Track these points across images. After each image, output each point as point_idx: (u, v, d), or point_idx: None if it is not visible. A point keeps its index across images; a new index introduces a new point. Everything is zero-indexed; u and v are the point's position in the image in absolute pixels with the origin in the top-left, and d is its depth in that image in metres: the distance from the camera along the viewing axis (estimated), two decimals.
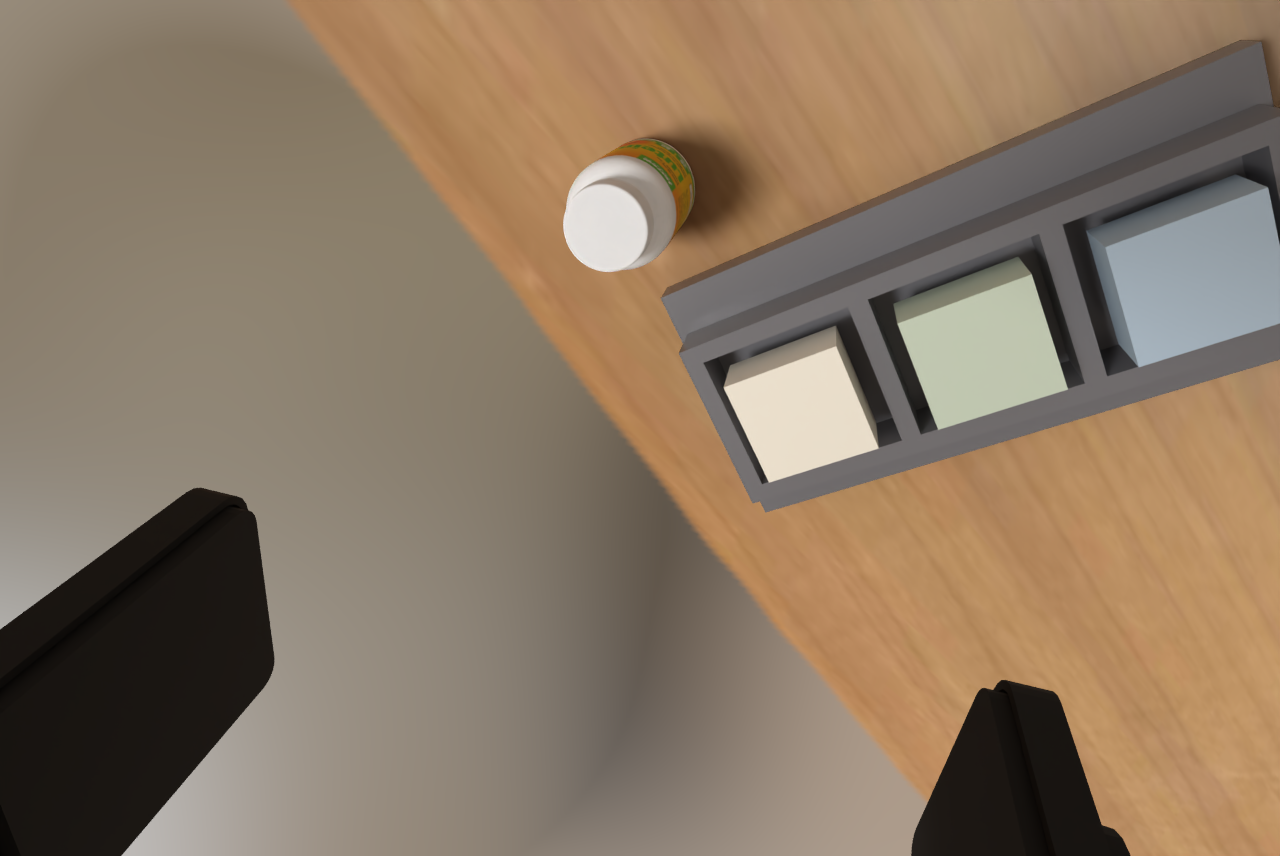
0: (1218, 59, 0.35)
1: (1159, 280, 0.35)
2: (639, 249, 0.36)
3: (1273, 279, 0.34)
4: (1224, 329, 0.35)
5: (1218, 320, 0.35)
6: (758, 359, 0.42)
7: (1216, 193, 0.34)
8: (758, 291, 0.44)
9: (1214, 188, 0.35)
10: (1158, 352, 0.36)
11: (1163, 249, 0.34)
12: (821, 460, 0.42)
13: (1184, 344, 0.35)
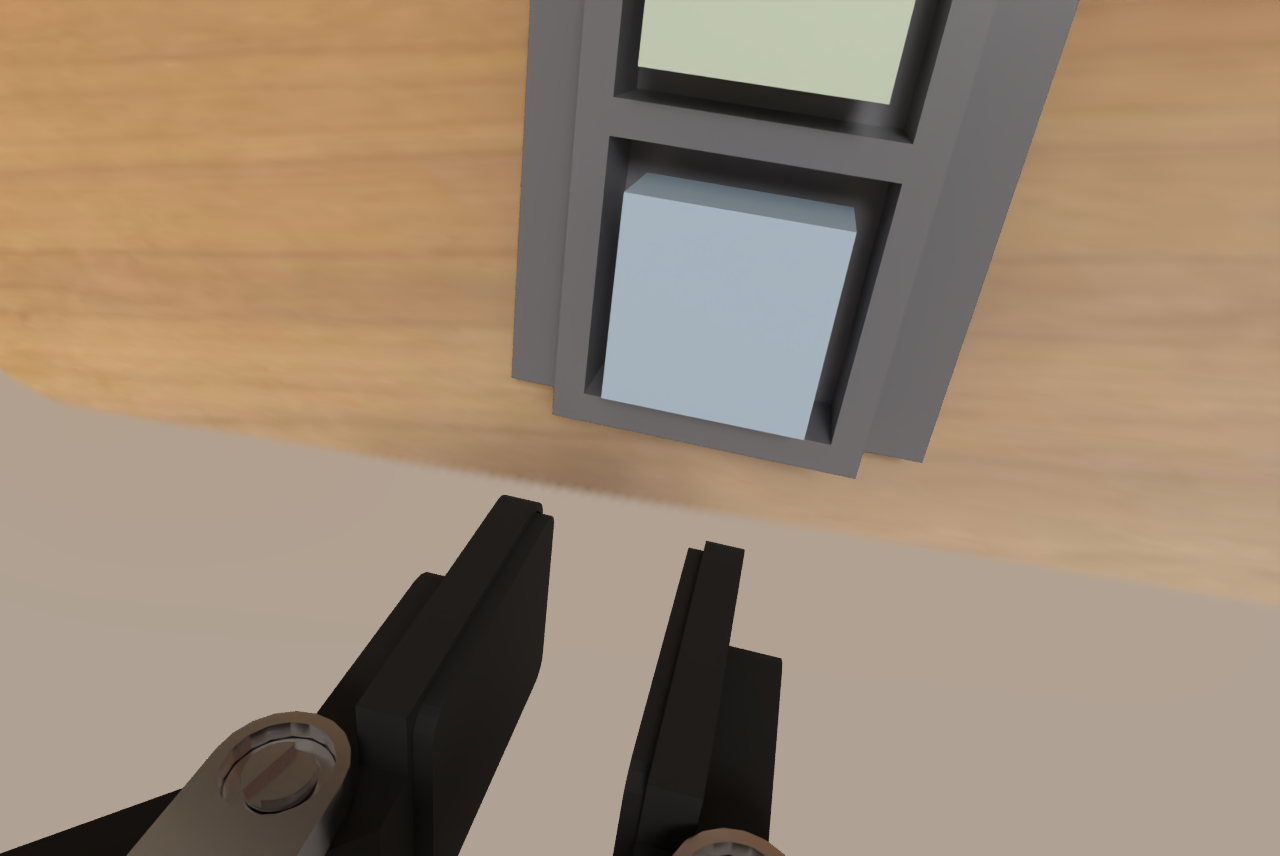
0: (934, 422, 0.27)
1: (753, 277, 0.21)
2: None
3: (671, 398, 0.23)
4: (627, 321, 0.22)
5: (646, 320, 0.22)
6: None
7: None
8: None
9: None
10: (635, 228, 0.21)
11: (799, 302, 0.21)
12: None
13: (631, 266, 0.22)
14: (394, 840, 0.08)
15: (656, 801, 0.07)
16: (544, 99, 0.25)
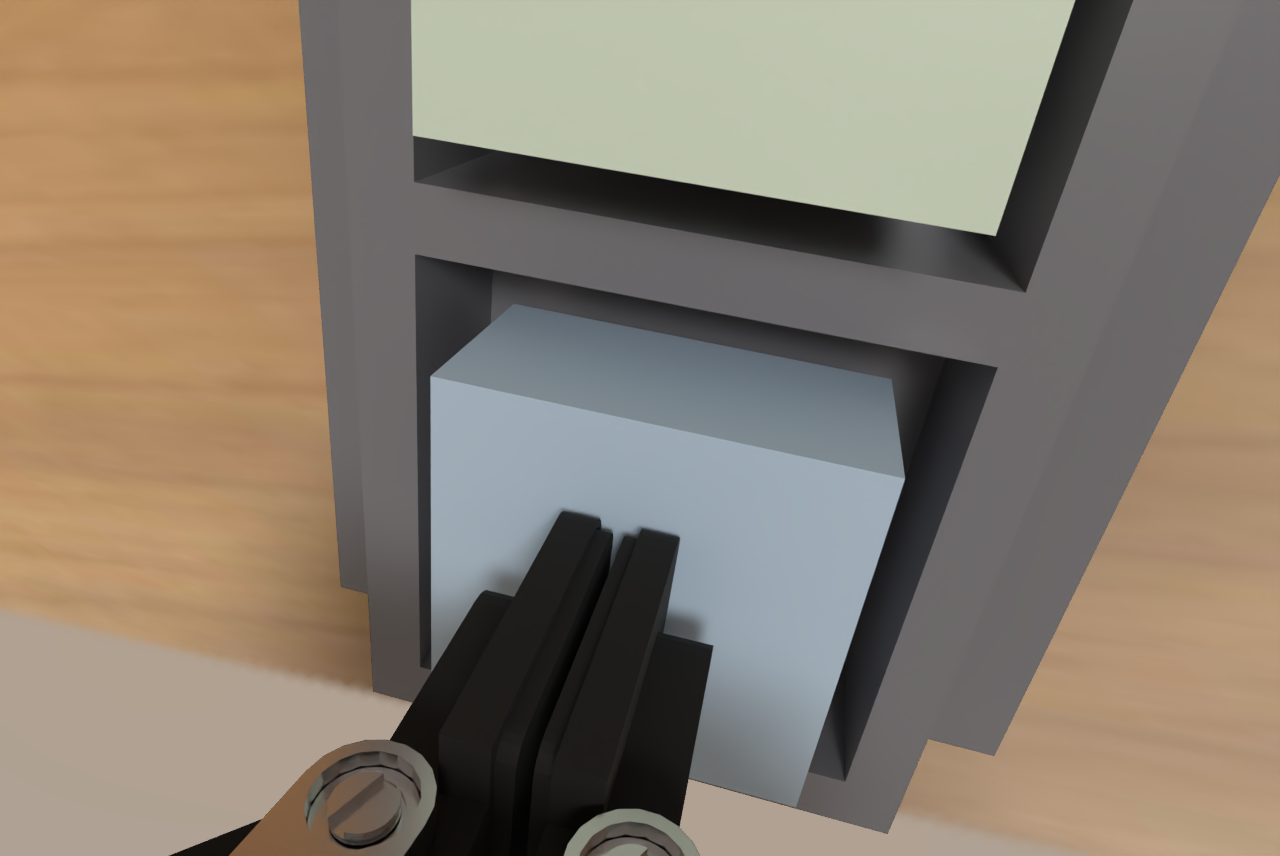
0: (1018, 699, 0.16)
1: (694, 542, 0.11)
2: None
3: None
4: (463, 596, 0.12)
5: None
6: None
7: None
8: None
9: None
10: (460, 443, 0.11)
11: (785, 593, 0.11)
12: None
13: (459, 507, 0.11)
14: None
15: (562, 782, 0.07)
16: (342, 166, 0.14)
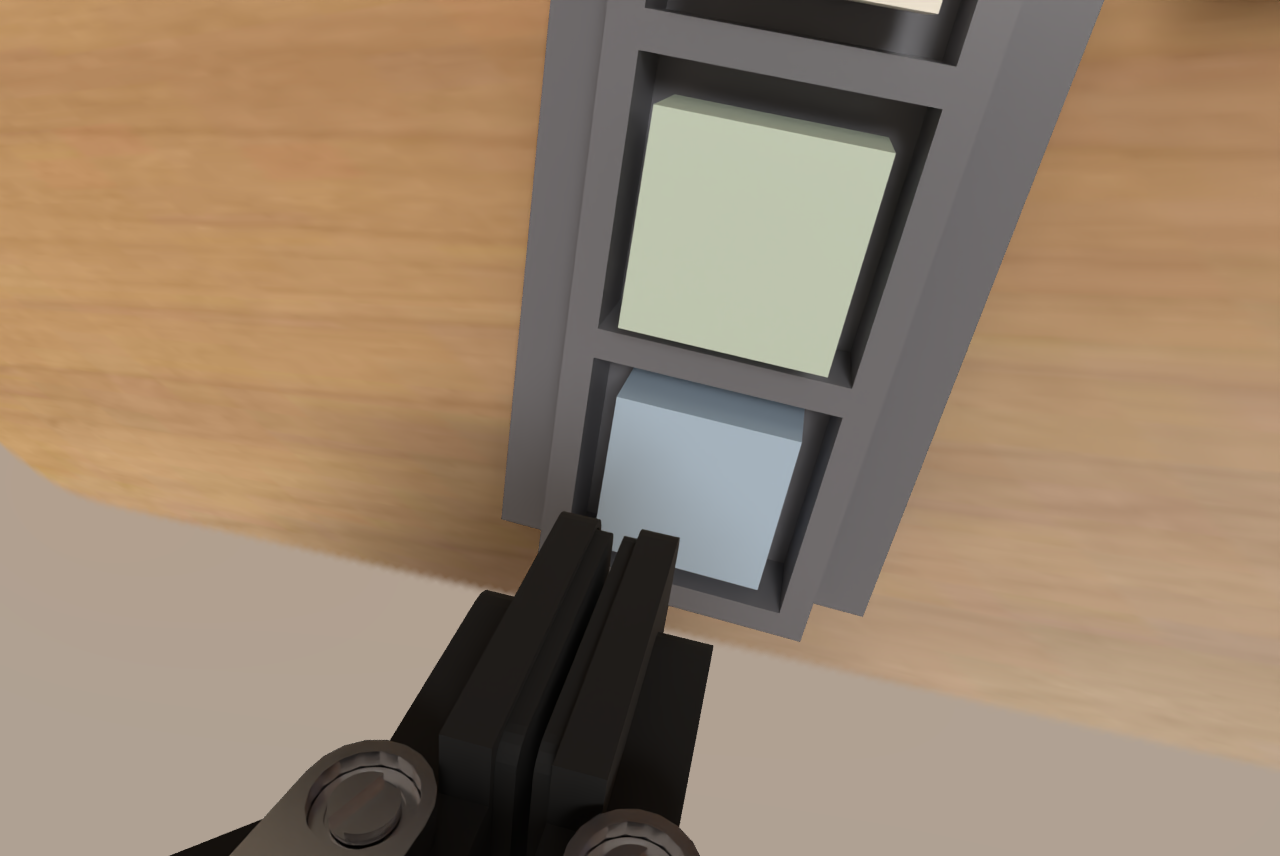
0: (874, 584, 0.31)
1: (719, 467, 0.26)
2: None
3: None
4: (616, 490, 0.27)
5: (632, 491, 0.27)
6: None
7: None
8: None
9: None
10: (625, 424, 0.26)
11: (755, 488, 0.26)
12: None
13: (620, 450, 0.26)
14: None
15: (562, 782, 0.07)
16: (539, 300, 0.28)
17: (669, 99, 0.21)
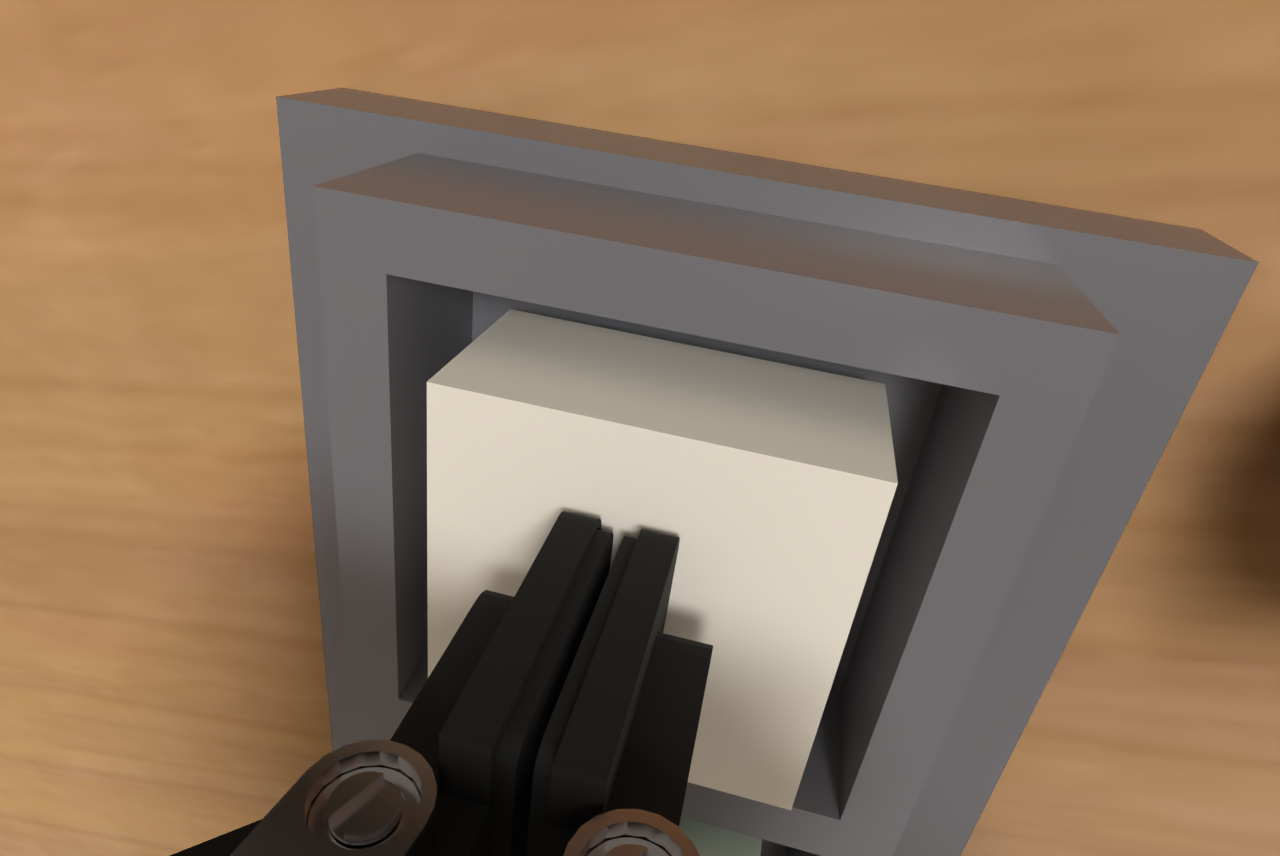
0: None
1: None
2: None
3: None
4: None
5: None
6: None
7: None
8: None
9: None
10: None
11: None
12: (448, 575, 0.12)
13: None
14: None
15: (562, 782, 0.07)
16: None
17: None
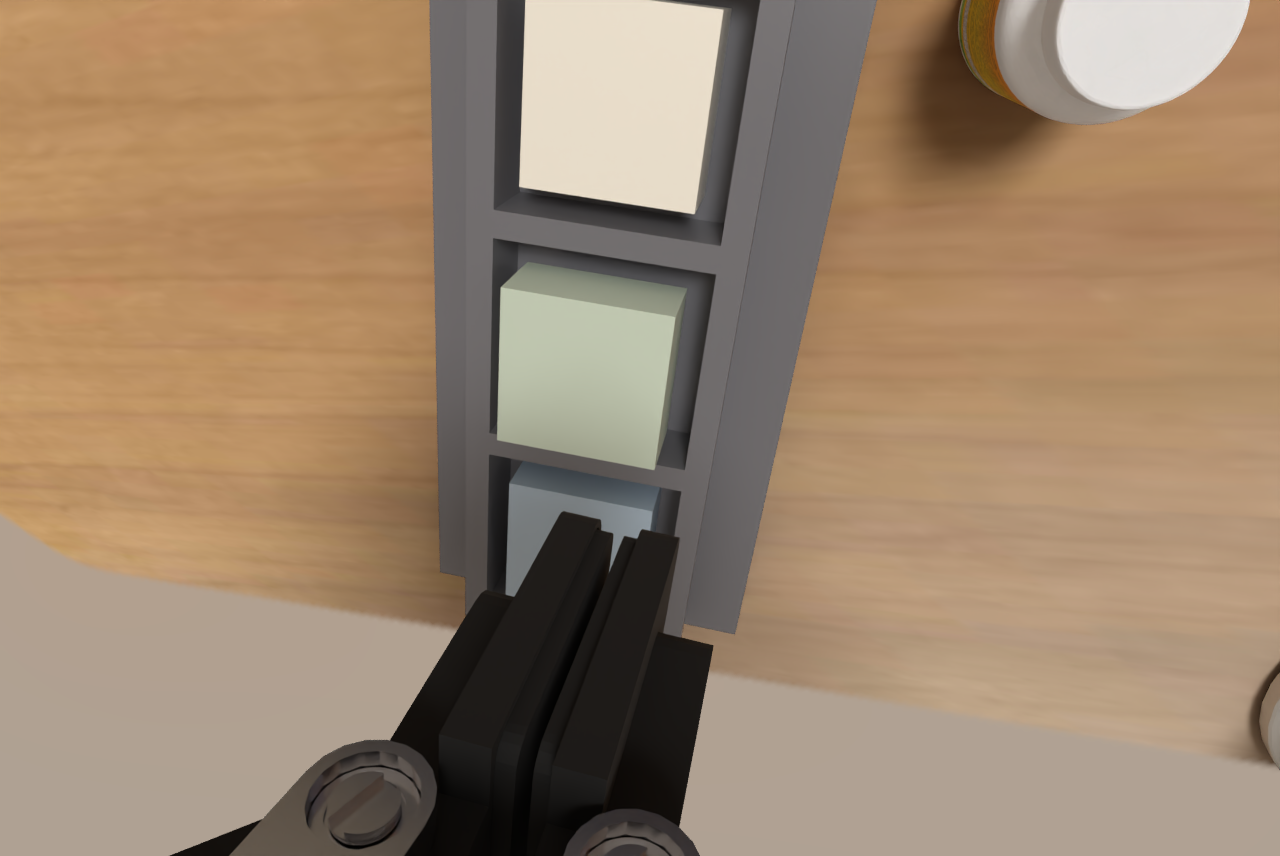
0: (740, 608, 0.38)
1: None
2: (1068, 59, 0.19)
3: None
4: (518, 552, 0.34)
5: (530, 552, 0.34)
6: (721, 68, 0.26)
7: None
8: (798, 105, 0.27)
9: None
10: (518, 503, 0.33)
11: None
12: (532, 95, 0.26)
13: (518, 523, 0.34)
14: None
15: (562, 782, 0.07)
16: (450, 403, 0.36)
17: (518, 273, 0.28)
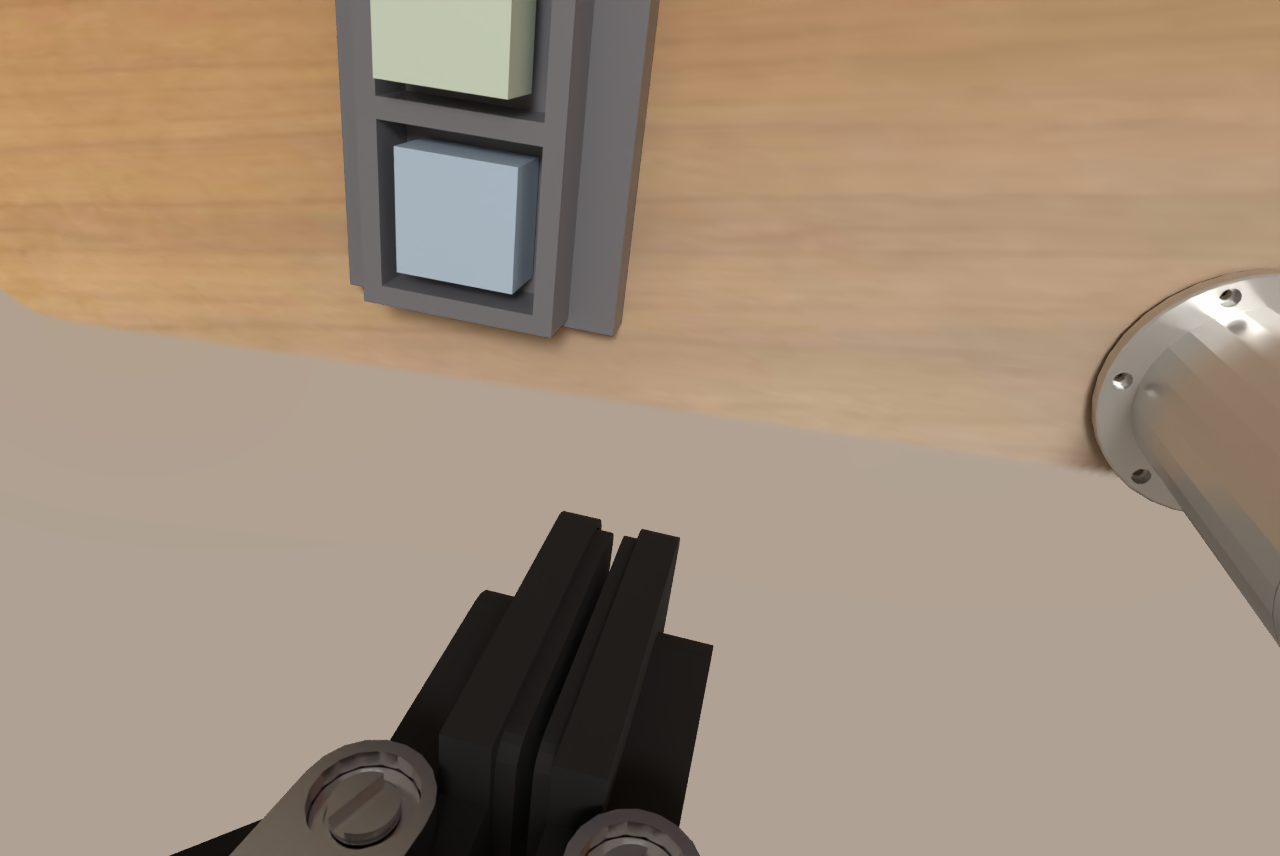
0: (616, 307, 0.42)
1: (469, 194, 0.37)
2: None
3: (435, 271, 0.39)
4: (405, 223, 0.38)
5: (415, 222, 0.38)
6: None
7: (523, 260, 0.40)
8: None
9: (528, 260, 0.40)
10: (402, 167, 0.37)
11: (495, 209, 0.37)
12: None
13: (403, 189, 0.38)
14: None
15: (562, 782, 0.07)
16: (351, 97, 0.40)
17: None
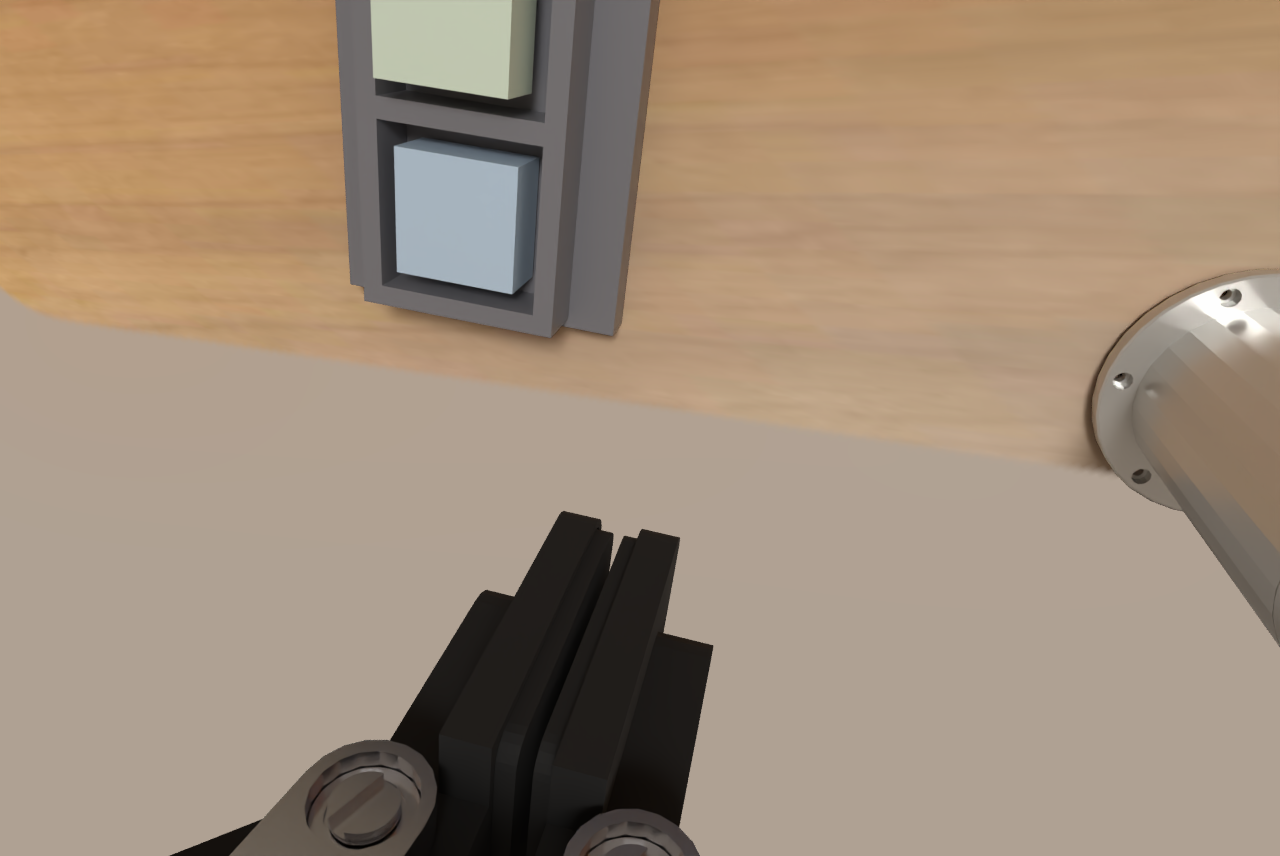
0: (616, 307, 0.42)
1: (469, 194, 0.37)
2: None
3: (436, 270, 0.39)
4: (405, 223, 0.38)
5: (415, 222, 0.38)
6: None
7: (524, 260, 0.40)
8: None
9: (529, 260, 0.40)
10: (402, 167, 0.37)
11: (495, 209, 0.37)
12: None
13: (403, 190, 0.38)
14: None
15: (562, 782, 0.07)
16: (352, 97, 0.40)
17: None
